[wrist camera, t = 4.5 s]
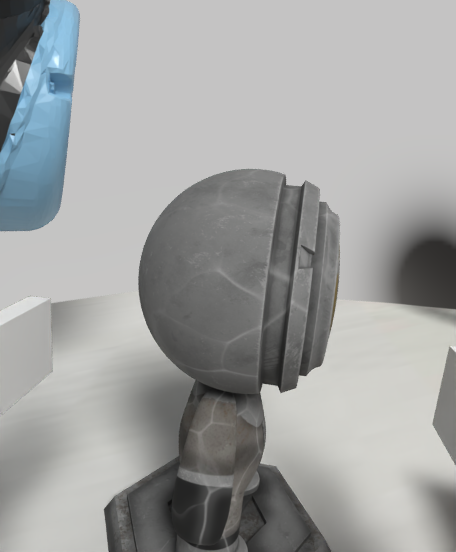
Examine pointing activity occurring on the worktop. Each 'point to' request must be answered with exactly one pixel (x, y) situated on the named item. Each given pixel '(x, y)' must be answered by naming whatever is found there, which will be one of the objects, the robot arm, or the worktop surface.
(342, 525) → the worktop surface
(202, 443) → the figurine
